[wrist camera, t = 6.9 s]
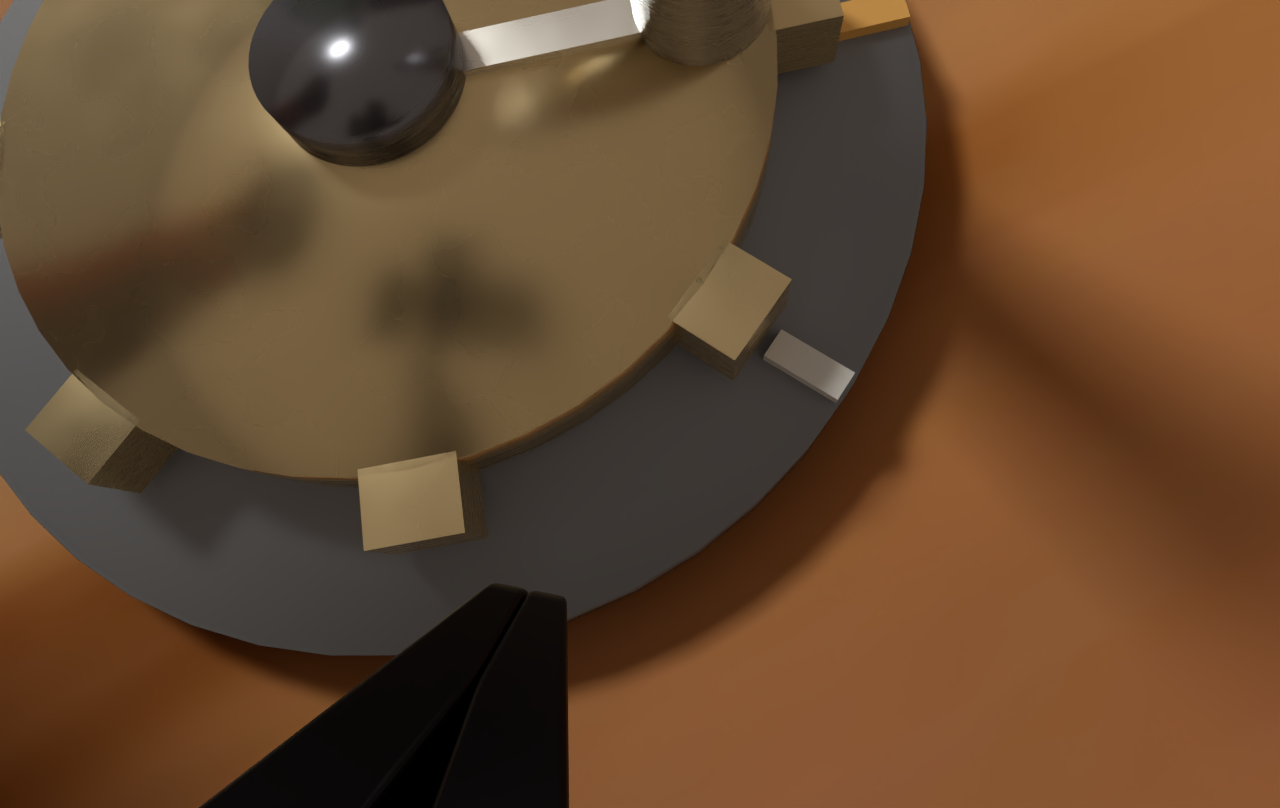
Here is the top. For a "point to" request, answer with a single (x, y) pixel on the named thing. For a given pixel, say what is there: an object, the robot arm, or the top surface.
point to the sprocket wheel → (385, 227)
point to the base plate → (562, 468)
